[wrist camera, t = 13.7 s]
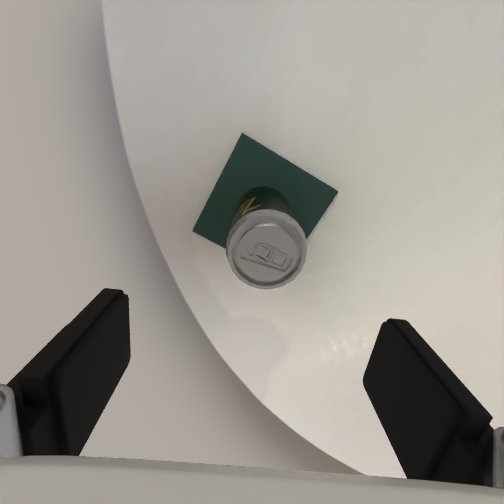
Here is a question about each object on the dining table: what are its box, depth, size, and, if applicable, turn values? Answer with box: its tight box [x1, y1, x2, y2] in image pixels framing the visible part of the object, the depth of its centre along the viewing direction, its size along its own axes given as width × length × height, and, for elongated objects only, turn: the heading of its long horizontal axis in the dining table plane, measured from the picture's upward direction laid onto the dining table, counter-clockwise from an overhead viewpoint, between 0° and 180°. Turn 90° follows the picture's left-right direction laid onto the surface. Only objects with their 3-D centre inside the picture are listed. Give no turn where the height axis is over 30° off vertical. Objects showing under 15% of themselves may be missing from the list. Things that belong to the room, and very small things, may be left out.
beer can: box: [226, 187, 307, 289], centre depth 23 cm, size 5×5×12 cm
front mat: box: [193, 133, 338, 248], centre depth 29 cm, size 11×11×1 cm
